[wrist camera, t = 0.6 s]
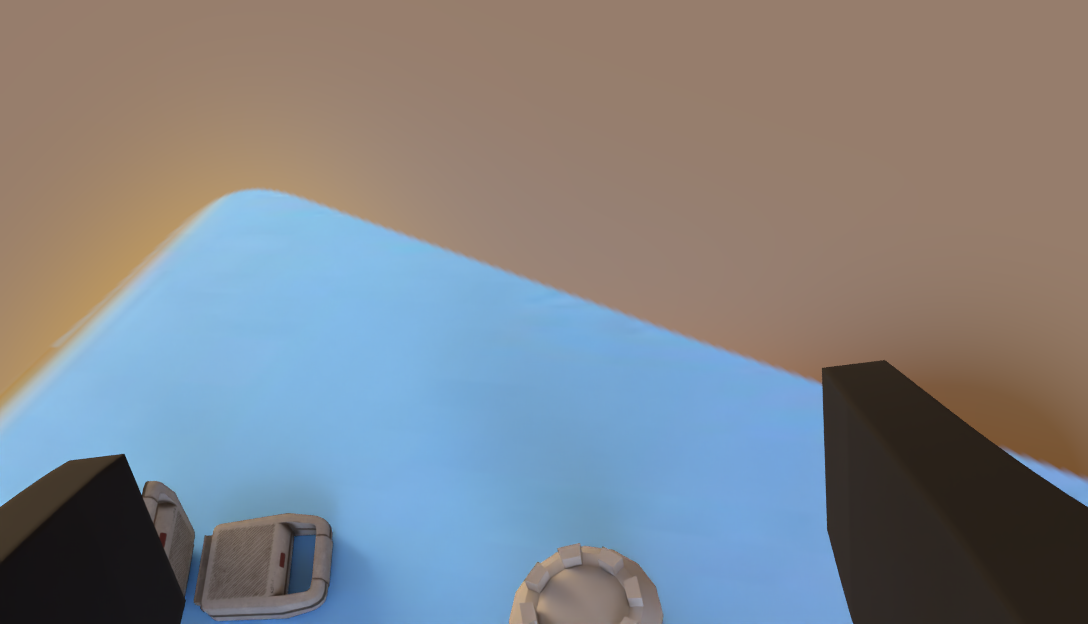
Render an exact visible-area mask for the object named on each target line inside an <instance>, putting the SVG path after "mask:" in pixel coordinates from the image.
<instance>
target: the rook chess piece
mask: <svg viewBox="0 0 1088 624" xmlns="http://www.w3.org/2000/svg"><path fill="white" fill-rule="evenodd" d="M557 550H558V552H557V553H555V554H554V555H552V556H551V557H549V558H548V559H546V560H545V561H543V562H542V563H539V562H537V563H536V565H535V566H534V567H533V569H532V570H531V571H530V573H529V574H528V576H527V577H526V579H525V580H524V581H523V583H522V584H521V586H520V587H519V589H518V590H517V591H516V593H515V598H514V602H513V606H512V610H511V615H510V619H509V624H662V621H663V612H662V608H661V604H660V600H659V597H658V593H657V589H656V586H655V585H654V584H653V582H652V581H651V580H650V579H649V577H648V576H647V575H646V573H645V572H644V571H643V570H642V568H641V567H640V566H639V564H637V563H636V562H634V561H632V560H630V559H629V558H627V557H625V556H623V555H622V554H620V553H618V552H616V551H614V550H611V549H607V548H605V547H603V546H602V548H596V547H589V546H582V547H581V546H580V543H578V544H574V545H569V546H565V547H561V548H557Z"/></svg>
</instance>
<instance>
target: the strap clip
mask: <svg viewBox="0 0 1088 624" xmlns="http://www.w3.org/2000/svg"><path fill="white" fill-rule="evenodd" d="M142 497H143V500H144V502H145V504H146V507H147V509H148V512H149V514H150V516H151V519H152V521H153V524H154V526H155V528H156V531H157V533H158V536H159V538H160V540H161V543H162V545H163V547H164V550H165V552H166V555H167V557H168V559H169V562H170V564H171V567H172V569H173V571H174V574H175V576H176V579H177V581H178V583H179V586H180V588H181V590H182V593H183V595H184V598H185V593H186V588H187V582H188V576H189V571H190V565H191V559H192V553H193V548H194V539H195V532H194V529H193V527H192V525H191V523H190V521H189V519H188V517H187V515H186V513H185V511H184V509H183V507H182V505H181V503H180V501H179V499H178V497H177V495H176V493H175V492H174V491H172V490H171V489H170V488H168V487H167V486H166V485H164V484H163V483H161V482H158V481H147V482H146V483H145V485H144V488H143V492H142ZM304 535H316V542H315V552H314V562H313V572H312V581H311V586H310V588H309V589H308V590H307V591H305V592H300V593H293V594H288V589H289V580H290V571H291V562H292V553H293V544H294V536H304ZM332 535H333V532H332V528H331V526H330V525H329V523H328V522H327V521H326V520H325V519H323V518H321V517H318V516H313V515H302V514H292V513H286V514H280V515H273V516H267V517H261V518H255V519H249V520H243V521H237V522H231V523H225V524H220V525H217V526H216V527H215V528H214V531H213V535H211V536H206V535H205V537H204V543H203V549H202V555H201V561H200V567H199V573H198V579H197V585H196V591H195V597H194V603H195V604H196V605H198V606H201V607H200V608H201V610H202V611H203V612H206V613H207V614H208V615H209V616H210V617H211V618H213V619H214V620H216V621H232V620H258V619H285V618H290V617H294V616H297V615H300V614H303V613H306V612H310V611H313V610H315V609H317V608H318V607H320V606H321V605H322V604H323V603H324V602H325V600H326V597H327V591H328V587H329V583H330V571H331V560H332V548H333V541H332Z"/></svg>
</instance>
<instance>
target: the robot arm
mask: <svg viewBox="0 0 1088 624" xmlns="http://www.w3.org/2000/svg"><path fill="white" fill-rule="evenodd" d="M822 385H823V416H824V447H825V478H826V508H827V531H828V534H829V538H830V542H831V546H832V550H833V553H834V557H835V561H836V565H837V569H838V572H839V576H840V580H841V583H842V587H843V590H844V594H845V598H846V601H847V605H848V608H849V612H850V615H851V619H852V621H853V624H1088V507H1087V506H1085V505H1084V504H1082V503H1081V502H1079V501H1077V500H1076V499H1074V498H1073V497H1071V496H1069V495H1068V494H1066V493H1065V492H1063V491H1062V490H1060V489H1059V488H1057V487H1056V486H1054V485H1053V484H1051V483H1050V482H1048V481H1047V480H1045V479H1044V478H1042V477H1041V476H1039V475H1038V474H1036V473H1035V472H1033V471H1032V470H1031V469H1029V468H1028V467H1026V466H1025V465H1023V464H1022V463H1020V462H1019V461H1018V460H1016V459H1015V458H1013V457H1012V456H1011V455H1009V454H1008V453H1006V452H1005V451H1004V450H1002V449H1001V448H999V447H998V446H997V445H995V444H994V443H992V442H991V441H990V440H988V439H987V438H986V437H984V436H983V435H982V434H980V433H979V432H977V431H976V430H975V429H974V428H972V427H971V426H969V425H968V424H967V423H966V422H964V421H963V420H962V419H960V418H959V417H958V416H956V415H955V414H954V413H952V412H951V411H950V410H949V409H947V408H946V407H945V406H943V405H942V404H941V403H940V402H938V401H937V400H936V399H934V398H933V397H932V396H931V395H929V394H928V393H927V392H925V391H924V390H923V389H921V388H920V387H919V386H917V385H916V384H915V383H914V382H913V381H911V380H910V379H909V378H907V377H906V376H905V375H903V374H902V373H901V372H900V371H898V370H897V369H896V368H895V367H893V366H892V365H890V364H889V363H888V362H887V361H885V360H883V361H875V362H867V363H858V364H850V365H842V366H834V367H826V368H822ZM185 602H186V600H185V598H184V595H183V593H182V590H181V588H180V586H179V583H178V581H177V579H176V576H175V574H174V571H173V569H172V567H171V564H170V562H169V559H168V557H167V555H166V552H165V550H164V547H163V545H162V543H161V540H160V538H159V536H158V533H157V531H156V528H155V526H154V524H153V521H152V519H151V516H150V514H149V512H148V509H147V507H146V504H145V502H144V500H143V497H142V495H141V493H140V490H139V488H138V485H137V483H136V481H135V478H134V476H133V473H132V471H131V469H130V466H129V464H128V461H127V459H126V457H125V454H119V455H111V456H103V457H95V458H87V459H79V460H71V461H68V462H66V463H64V464H63V465H61V466H59V467H58V468H56V469H54V470H53V471H51V472H50V473H48V474H47V475H45V476H43V477H42V478H40V479H39V480H38V481H36V482H35V483H33V484H32V485H30V486H29V487H27V488H26V489H25V490H23V491H22V492H20V493H19V494H18V495H16V496H15V497H13V498H12V499H11V500H9V501H8V502H6V503H5V504H4V505H2V506H1V507H0V624H180V623H181V619H182V615H183V610H184V606H185Z"/></svg>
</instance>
